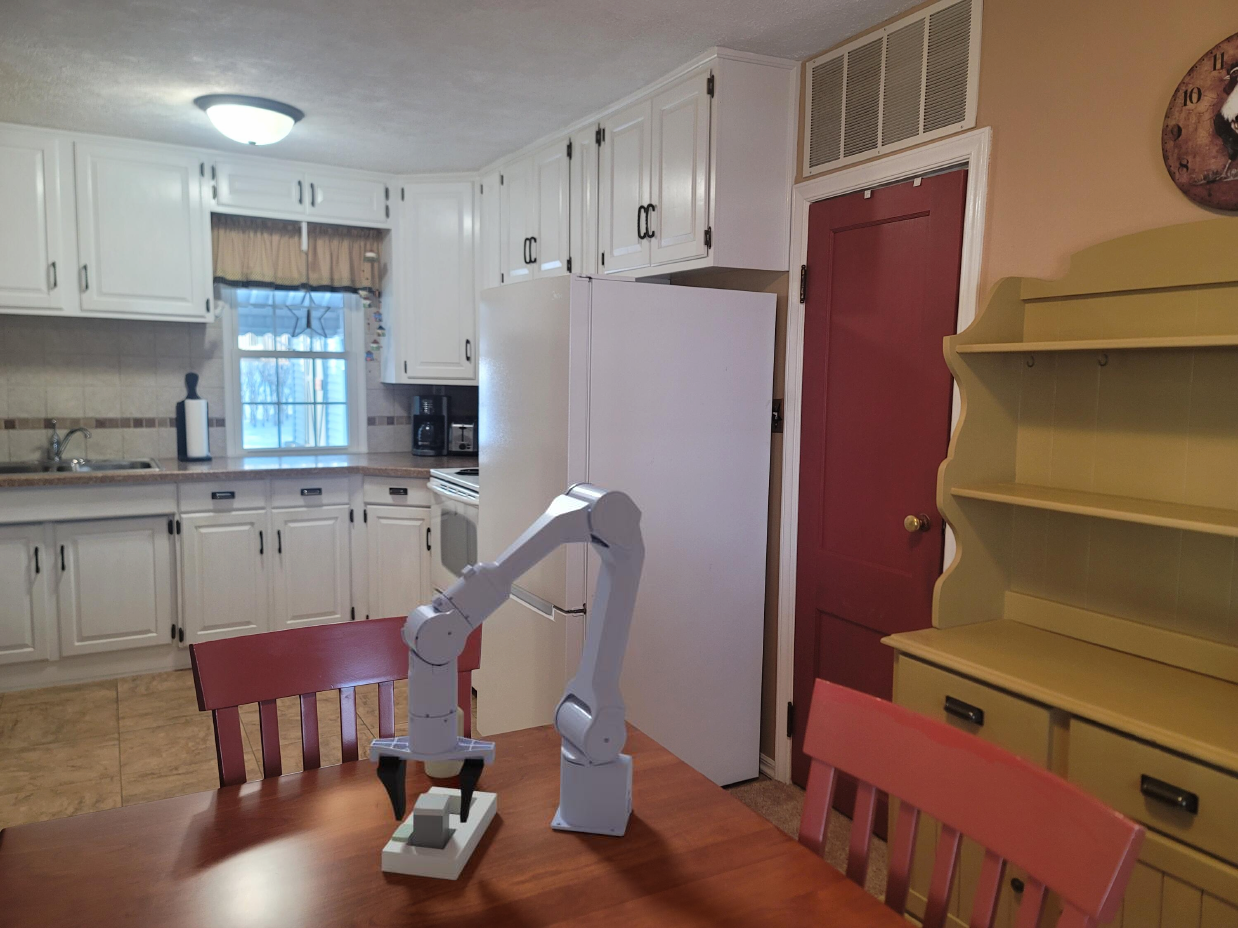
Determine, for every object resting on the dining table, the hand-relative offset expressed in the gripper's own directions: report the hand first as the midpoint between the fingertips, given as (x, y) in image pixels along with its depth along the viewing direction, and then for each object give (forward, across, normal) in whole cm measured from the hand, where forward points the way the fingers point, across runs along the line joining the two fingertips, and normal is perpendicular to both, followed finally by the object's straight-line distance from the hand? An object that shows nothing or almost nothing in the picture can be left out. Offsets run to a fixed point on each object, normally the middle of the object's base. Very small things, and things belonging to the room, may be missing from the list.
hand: (432, 817), depth 104 cm
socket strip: (+5, 0, -4) cm, 6 cm away
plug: (+5, 0, 0) cm, 5 cm away
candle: (+5, +3, -23) cm, 23 cm away
